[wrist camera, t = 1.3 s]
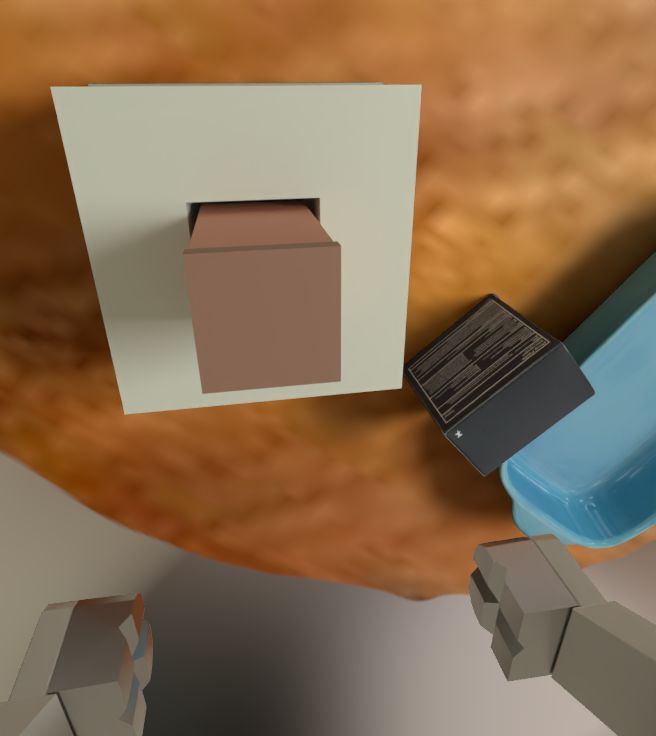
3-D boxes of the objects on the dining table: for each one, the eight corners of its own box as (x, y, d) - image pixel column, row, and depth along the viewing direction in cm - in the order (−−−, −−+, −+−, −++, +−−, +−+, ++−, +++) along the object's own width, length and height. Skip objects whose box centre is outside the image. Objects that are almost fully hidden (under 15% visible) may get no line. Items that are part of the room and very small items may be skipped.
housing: (91, 84, 32) (38, 76, 23) (379, 83, 35) (429, 75, 26) (143, 352, 41) (119, 420, 32) (371, 335, 44) (407, 392, 35)
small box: (437, 411, 49) (485, 483, 39) (397, 368, 46) (438, 435, 36) (528, 339, 47) (601, 396, 37) (492, 289, 44) (562, 339, 34)
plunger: (199, 202, 30) (182, 254, 20) (304, 198, 31) (341, 246, 20) (211, 302, 33) (202, 393, 22) (307, 296, 34) (340, 381, 23)
